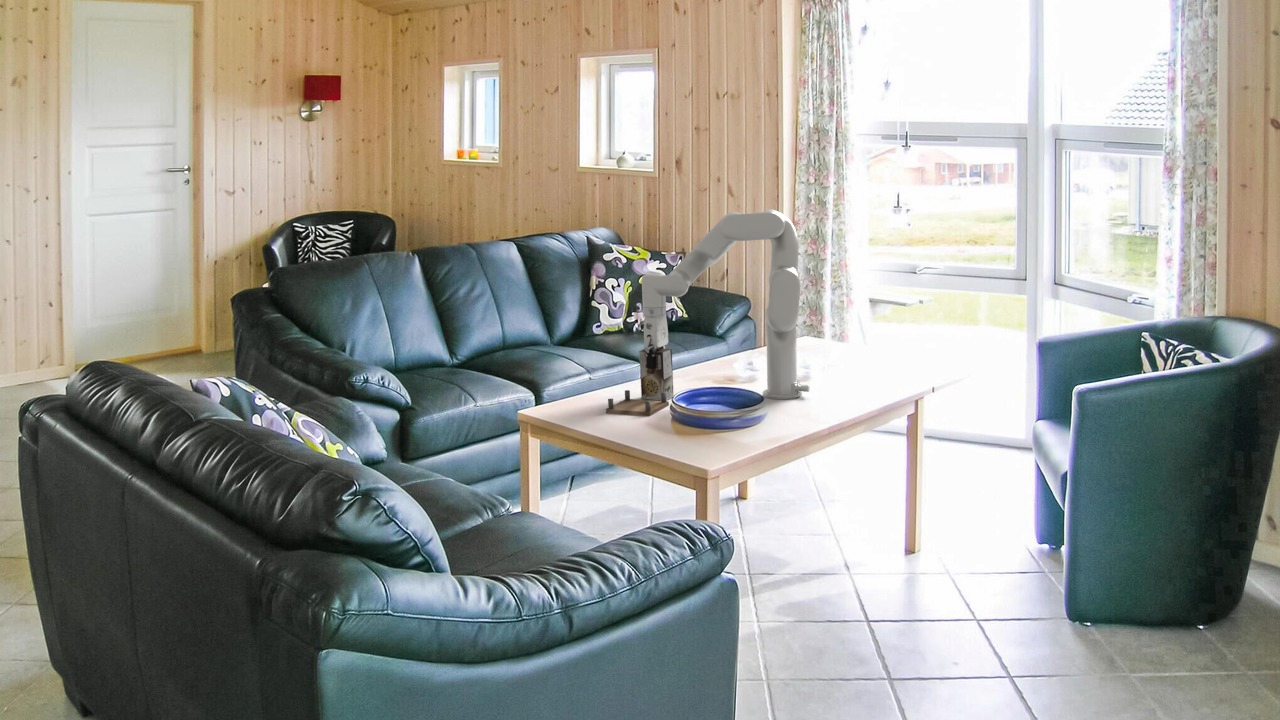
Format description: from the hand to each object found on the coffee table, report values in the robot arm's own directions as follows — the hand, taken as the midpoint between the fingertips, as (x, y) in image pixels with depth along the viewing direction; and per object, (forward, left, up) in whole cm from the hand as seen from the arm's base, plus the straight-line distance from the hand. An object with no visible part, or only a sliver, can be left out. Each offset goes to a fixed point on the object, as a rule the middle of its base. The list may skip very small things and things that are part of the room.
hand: (656, 365), depth 391 cm
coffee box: (0, 0, -11) cm, 11 cm away
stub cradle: (0, +16, -11) cm, 19 cm away
